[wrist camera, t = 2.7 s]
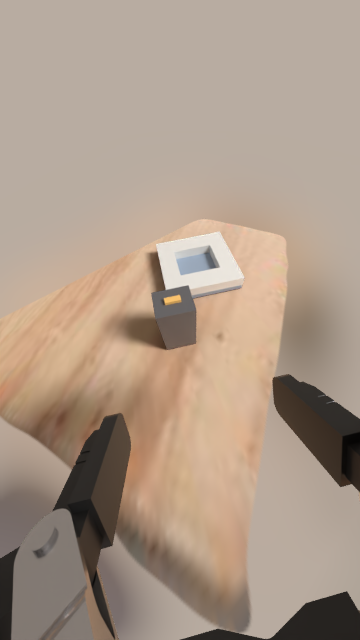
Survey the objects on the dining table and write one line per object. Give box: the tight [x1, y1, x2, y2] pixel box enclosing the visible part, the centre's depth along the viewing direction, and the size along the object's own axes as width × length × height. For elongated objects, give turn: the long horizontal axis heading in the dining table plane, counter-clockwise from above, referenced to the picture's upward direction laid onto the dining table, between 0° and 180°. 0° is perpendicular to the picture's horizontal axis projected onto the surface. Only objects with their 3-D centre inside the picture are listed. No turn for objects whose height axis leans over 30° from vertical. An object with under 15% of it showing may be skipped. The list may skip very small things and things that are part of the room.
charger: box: [151, 285, 196, 350], centre depth 23 cm, size 4×4×9 cm
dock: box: [156, 232, 245, 298], centre depth 33 cm, size 13×13×2 cm
